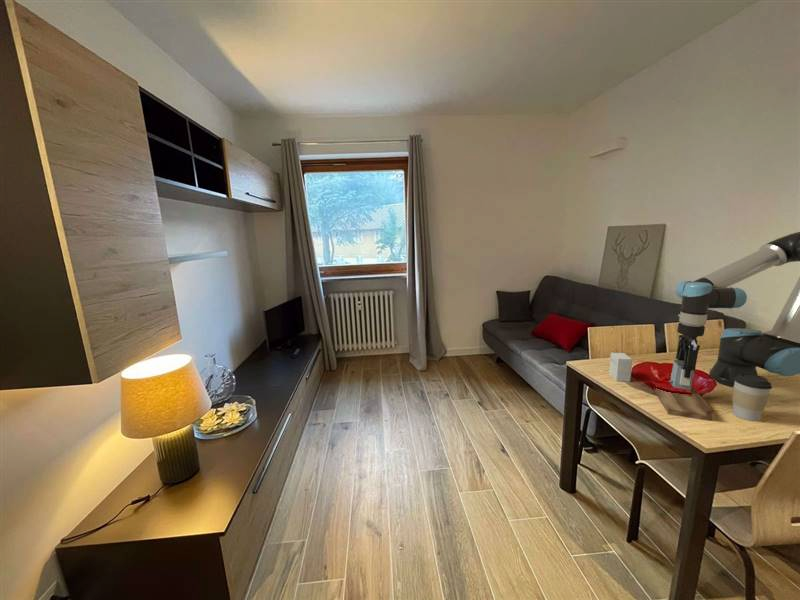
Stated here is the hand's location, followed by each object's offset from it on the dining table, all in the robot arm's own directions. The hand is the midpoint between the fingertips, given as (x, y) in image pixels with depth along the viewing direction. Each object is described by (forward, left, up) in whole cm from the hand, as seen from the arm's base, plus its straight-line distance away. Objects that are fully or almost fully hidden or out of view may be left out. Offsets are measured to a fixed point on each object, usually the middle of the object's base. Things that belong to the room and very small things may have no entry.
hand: (682, 381), depth 128 cm
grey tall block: (0, 0, -2) cm, 2 cm away
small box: (+18, -13, -7) cm, 23 cm away
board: (+1, +6, -7) cm, 9 cm away
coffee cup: (-17, +7, -7) cm, 19 cm away
